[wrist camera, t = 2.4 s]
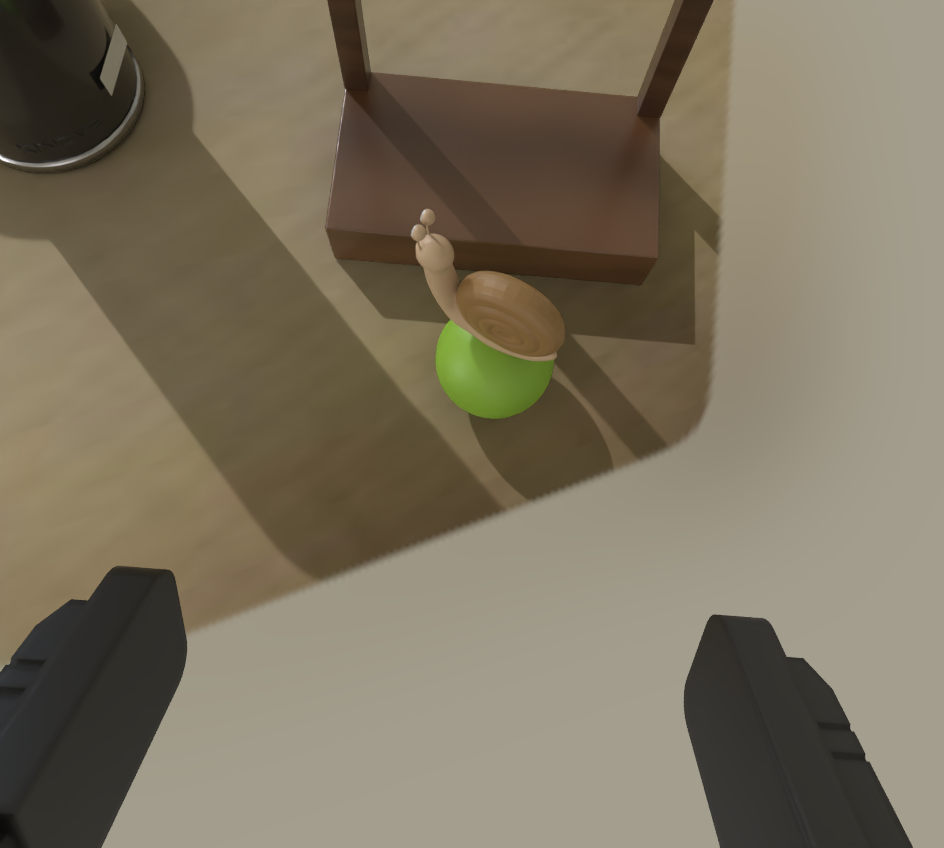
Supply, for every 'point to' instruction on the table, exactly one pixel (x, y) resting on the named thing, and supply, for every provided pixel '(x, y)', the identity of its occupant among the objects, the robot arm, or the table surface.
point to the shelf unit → (502, 164)
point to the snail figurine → (488, 332)
